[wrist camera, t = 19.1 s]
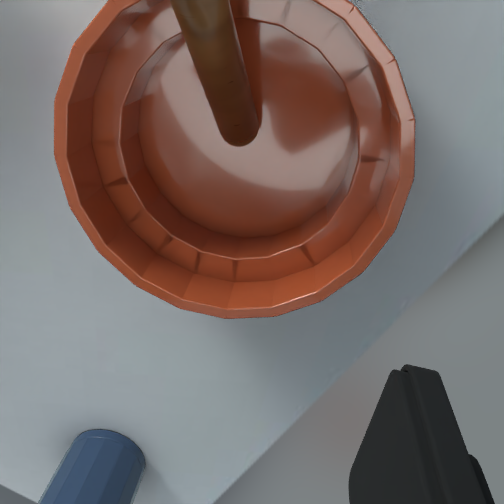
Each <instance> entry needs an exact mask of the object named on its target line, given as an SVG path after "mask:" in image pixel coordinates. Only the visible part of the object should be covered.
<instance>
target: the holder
mask: <svg viewBox="0 0 504 504" xmlns="http://www.w3.org/2000/svg"><path fill="white" fill-rule="evenodd" d="M144 469H145V459H144V456H143V454H142V452H141V450H140V449H139V448H138V446H137V445H136V444H135V443H134V442H132V441H131V440H130V439H128V438H127V437H125V436H123V435H121V434H119V433H116V432H113V431H108V430H90V431H86V432H84V433H82V434H80V435H79V436H77V437H76V438H75V439H74V441H73V442H72V444H71V446H70V448H69V449H68V450H67V452H66V453H65V455H64V457H63V459H62V460H61V462H60V464H59V466H58V468H57V469H56V471H55V473H54V475H53V476H52V478H51V480H50V482H49V484H48V485H47V487H46V489H45V491H44V492H43V494H42V496H41V498H40V500H39V501H38V503H37V504H133V502H134V499H135V496H136V494H137V491H138V488H139V485H140V483H141V479H142V475H143V472H144Z"/></svg>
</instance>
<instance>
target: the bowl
mask: <svg viewBox="0 0 504 504" xmlns="http://www.w3.org/2000/svg"><path fill="white" fill-rule="evenodd" d="M229 2H230V6H231V11H232V15H233V19H234V23H235V27H236V31H237V35H238V39H239V43H240V47H241V52H242V56H243V60H244V64H245V68H246V72H247V76H248V80H249V84H250V88H251V93H252V97H253V101H254V105H255V109H256V113H257V117H258V121H259V130H258V134H257V136H256V138H255V139H254V140H253V141H252V142H251V143H250V144H248V145H246V146H242V147H236V146H232V145H230V144H228V143H227V142H226V141H225V140H224V139H223V138H222V136H221V134H220V132H219V129H218V126H217V124H216V121H215V118H214V116H213V113H212V111H211V108H210V105H209V103H208V100H207V97H206V95H205V92H204V89H203V87H202V84H201V81H200V79H199V76H198V74H197V71H196V68H195V66H194V63H193V60H192V58H191V55H190V52H189V50H188V47H187V44H186V42H185V39H184V37H183V34H182V31H181V29H180V26H179V23H178V21H177V18H176V15H175V13H174V10H173V7H172V5H171V2H170V0H108V1H107V3H106V4H105V5H104V6H103V8H102V9H101V10H100V11H99V13H98V14H97V15H96V16H95V18H94V19H93V20H92V21H91V23H90V24H89V25H88V26H87V28H86V29H85V30H84V31H83V33H82V34H81V35H80V36H79V38H78V39H77V40H76V41H75V43H74V45H73V46H72V49H71V52H70V55H69V58H68V61H67V64H66V67H65V70H64V73H63V76H62V79H61V82H60V85H59V88H58V91H57V94H56V97H55V101H54V156H55V160H56V164H57V167H58V170H59V174H60V177H61V180H62V184H63V187H64V190H65V194H66V197H67V200H68V204H69V206H70V209H71V210H72V212H73V213H74V215H75V217H76V218H77V220H78V221H79V223H80V224H81V226H82V228H83V229H84V231H85V232H86V234H87V235H88V237H89V238H90V240H91V242H92V243H93V245H94V246H95V248H96V249H97V251H98V252H99V253H100V254H101V255H102V256H103V257H104V258H106V259H107V260H108V261H109V262H110V263H111V264H112V265H113V266H114V267H115V268H117V269H118V270H119V271H120V272H121V273H122V274H123V275H124V276H125V277H126V278H128V279H129V280H130V281H131V282H132V283H133V284H134V285H136V286H137V287H139V288H141V289H143V290H145V291H147V292H149V293H150V294H152V295H154V296H156V297H158V298H160V299H162V300H164V301H166V302H168V303H170V304H172V305H174V306H176V307H177V308H180V309H184V310H188V311H193V312H197V313H202V314H206V315H211V316H215V317H220V318H224V319H235V318H257V317H274V316H279V315H282V314H285V313H288V312H291V311H294V310H297V309H300V308H303V307H306V306H309V305H312V304H315V303H318V302H321V300H322V301H323V300H324V299H326V298H327V297H328V296H330V295H331V294H333V293H334V292H336V291H337V290H338V289H340V288H341V287H343V286H344V285H346V284H347V283H349V282H350V281H351V280H353V279H354V278H356V277H357V276H359V275H360V274H361V273H362V272H364V270H365V269H366V268H367V267H368V265H369V264H370V263H371V261H372V260H373V259H374V258H375V256H376V255H377V254H378V252H379V251H380V250H381V249H382V247H383V246H384V245H385V243H386V242H387V241H388V240H389V238H390V237H391V236H392V234H393V233H394V231H395V230H396V228H397V225H398V222H399V219H400V217H401V214H402V211H403V208H404V205H405V203H406V200H407V197H408V194H409V192H410V189H411V186H412V183H413V180H414V170H415V116H414V113H413V110H412V106H411V103H410V100H409V97H408V94H407V91H406V88H405V85H404V82H403V79H402V75H401V72H400V69H399V66H398V63H397V60H396V59H395V56H394V55H393V54H392V52H391V51H390V50H389V48H388V47H387V46H386V45H385V43H384V42H383V41H382V39H381V38H380V37H379V35H378V34H377V33H376V31H375V30H374V29H373V28H372V26H371V25H370V24H369V22H368V21H367V20H366V18H365V17H364V16H363V14H362V13H361V12H360V10H359V9H358V8H357V7H356V6H355V5H354V4H353V3H351V2H350V1H348V0H229Z"/></svg>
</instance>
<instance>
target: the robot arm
mask: <svg viewBox="0 0 504 504" xmlns="http://www.w3.org/2000/svg"><path fill="white" fill-rule="evenodd" d="M349 501H350V504H495V503H494V500H493V498H492V495H491V492H490V490H489V487H488V484H487V482H486V479H485V477H484V474H483V472H482V469H481V467H480V465H479V463H478V461H477V459H476V458H475V457H473V456H472V455H470V454H468V451H467V449H466V446H465V443H464V440H463V438H462V435H461V432H460V429H459V427H458V424H457V421H456V418H455V416H454V413H453V410H452V407H451V405H450V402H449V399H448V396H447V394H446V391H445V388H444V385H443V382H442V380H441V377H440V375H439V373H438V372H437V371H434V370H430V369H425V368H421V367H417V366H412V365H404V366H403V367H402V369H401V371H399V370H392V372H391V373H390V375H389V377H388V380H387V382H386V384H385V387H384V389H383V392H382V394H381V397H380V399H379V402H378V404H377V407H376V409H375V412H374V414H373V417H372V419H371V422H370V424H369V426H368V429H367V431H366V434H365V437H364V439H363V441H362V444H361V446H360V448H359V451H358V453H357V456H356V458H355V461H354V463H353V466H352V468H351V472H350V477H349Z"/></svg>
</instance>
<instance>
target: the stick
mask: <svg viewBox="0 0 504 504" xmlns="http://www.w3.org/2000/svg"><path fill="white" fill-rule="evenodd" d="M170 2H171V5H172V7H173V10H174V13H175V15H176V18H177V21H178V23H179V26H180V29H181V31H182V34H183V37H184V39H185V42H186V44H187V47H188V50H189V52H190V55H191V58H192V60H193V63H194V66H195V68H196V71H197V74H198V76H199V79H200V81H201V84H202V87H203V89H204V92H205V95H206V97H207V100H208V103H209V105H210V108H211V111H212V113H213V116H214V118H215V121H216V124H217V126H218V129H219V132H220V134H221V136H222V138H223V139H224V140H225V141H226V142H227V143H228V144H230V145H232V146H236V147H242V146H246V145H248V144H250V143H251V142H252V141H253V140H254V139H255V138H256V136H257V134H258V130H259V121H258V117H257V113H256V109H255V105H254V101H253V97H252V93H251V88H250V84H249V80H248V76H247V72H246V68H245V64H244V60H243V56H242V52H241V47H240V43H239V39H238V35H237V31H236V27H235V23H234V19H233V15H232V11H231V6H230V2H229V0H170Z"/></svg>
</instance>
